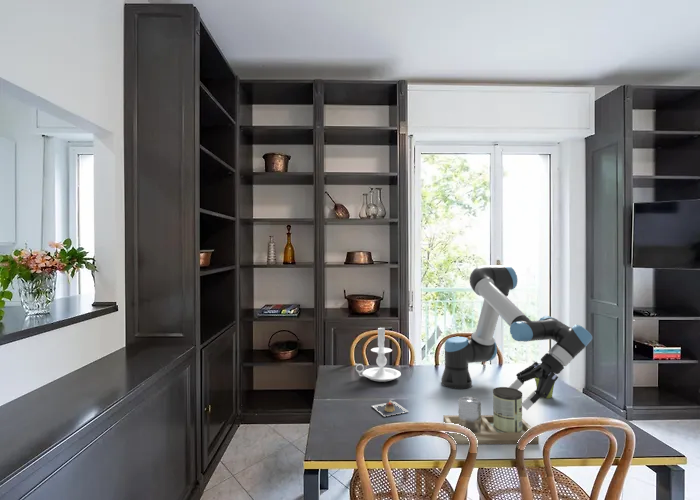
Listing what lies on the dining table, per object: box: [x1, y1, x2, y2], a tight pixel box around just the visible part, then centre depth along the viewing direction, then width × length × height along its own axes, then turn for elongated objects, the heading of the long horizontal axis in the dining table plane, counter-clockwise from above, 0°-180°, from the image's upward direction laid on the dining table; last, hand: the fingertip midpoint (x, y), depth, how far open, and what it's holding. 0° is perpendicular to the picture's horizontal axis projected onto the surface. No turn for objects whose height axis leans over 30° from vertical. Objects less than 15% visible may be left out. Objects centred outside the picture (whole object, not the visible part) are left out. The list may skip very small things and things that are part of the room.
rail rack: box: [443, 414, 540, 445], centre depth 147 cm, size 16×30×4 cm, turn 90°
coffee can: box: [492, 386, 523, 432], centre depth 147 cm, size 10×10×14 cm
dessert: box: [371, 399, 410, 417], centre depth 169 cm, size 12×12×5 cm
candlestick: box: [354, 326, 402, 383], centre depth 208 cm, size 21×25×28 cm
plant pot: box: [534, 378, 556, 399], centre depth 184 cm, size 9×9×9 cm
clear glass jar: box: [458, 396, 482, 433], centre depth 147 cm, size 8×8×11 cm
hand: (515, 400), depth 146 cm, fingers open, 13 cm apart
